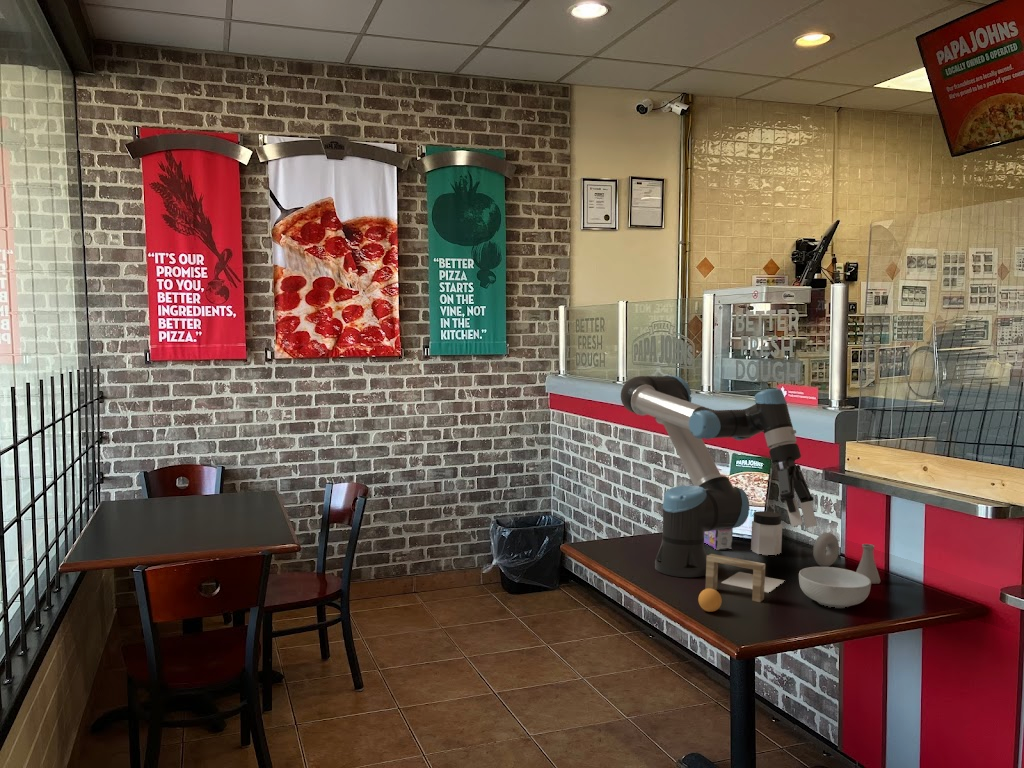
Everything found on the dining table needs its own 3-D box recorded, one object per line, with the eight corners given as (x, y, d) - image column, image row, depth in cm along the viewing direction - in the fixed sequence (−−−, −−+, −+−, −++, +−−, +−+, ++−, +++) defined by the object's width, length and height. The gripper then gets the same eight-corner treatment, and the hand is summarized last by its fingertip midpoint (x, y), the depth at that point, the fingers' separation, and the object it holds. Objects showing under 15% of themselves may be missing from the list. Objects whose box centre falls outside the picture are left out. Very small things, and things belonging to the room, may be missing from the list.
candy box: (732, 550, 258) (734, 498, 257) (715, 551, 257) (717, 498, 256) (713, 539, 272) (714, 489, 271) (696, 539, 270) (698, 489, 269)
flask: (883, 585, 225) (885, 549, 224) (855, 583, 226) (857, 547, 225) (877, 578, 232) (879, 542, 231) (850, 576, 233) (851, 541, 233)
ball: (694, 611, 200) (695, 589, 200) (703, 605, 205) (704, 584, 205) (715, 616, 197) (716, 594, 197) (724, 610, 202) (725, 588, 201)
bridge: (759, 602, 209) (761, 566, 208) (705, 590, 217) (706, 556, 216) (763, 599, 211) (765, 563, 210) (709, 587, 219) (711, 553, 219)
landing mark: (721, 583, 224) (721, 582, 224) (739, 572, 234) (739, 571, 234) (769, 592, 216) (769, 592, 216) (785, 581, 227) (785, 580, 227)
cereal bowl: (787, 603, 208) (788, 575, 208) (811, 588, 221) (812, 562, 220) (857, 619, 197) (858, 590, 197) (878, 603, 210) (879, 575, 210)
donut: (830, 562, 246) (832, 529, 246) (840, 565, 244) (842, 531, 243) (809, 567, 241) (811, 533, 240) (820, 570, 238) (821, 536, 237)
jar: (770, 557, 251) (772, 518, 250) (746, 552, 256) (748, 513, 256) (785, 552, 257) (787, 514, 256) (761, 547, 263) (762, 509, 262)
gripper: (782, 437, 207) (806, 521, 200) (809, 447, 227) (831, 523, 220) (753, 445, 210) (775, 528, 204) (783, 454, 231) (803, 530, 224)
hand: (804, 526), depth 212 cm, fingers open, 13 cm apart
